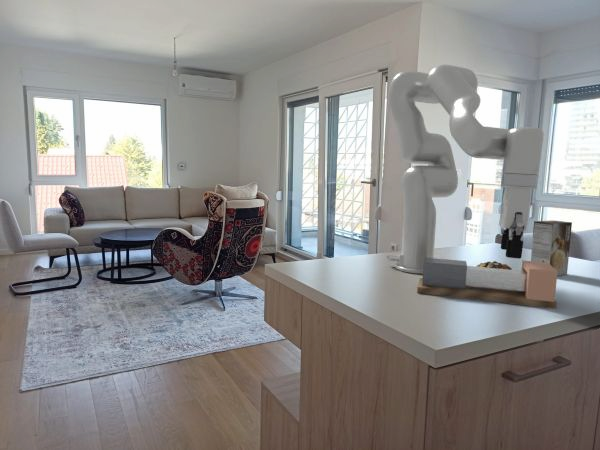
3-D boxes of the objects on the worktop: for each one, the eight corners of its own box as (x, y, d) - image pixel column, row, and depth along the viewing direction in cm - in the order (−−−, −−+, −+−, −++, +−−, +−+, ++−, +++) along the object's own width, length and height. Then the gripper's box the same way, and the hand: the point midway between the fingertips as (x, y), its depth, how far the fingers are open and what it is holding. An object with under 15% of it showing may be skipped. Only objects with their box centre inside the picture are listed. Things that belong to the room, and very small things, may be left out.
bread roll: (521, 276, 124) (521, 260, 123) (498, 286, 119) (498, 268, 118) (487, 270, 134) (487, 254, 133) (465, 278, 128) (464, 262, 127)
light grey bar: (457, 284, 103) (458, 268, 103) (457, 280, 107) (458, 265, 107) (542, 293, 97) (544, 276, 97) (539, 288, 101) (540, 272, 101)
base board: (417, 292, 104) (417, 287, 104) (419, 283, 113) (420, 277, 113) (556, 308, 94) (556, 302, 94) (546, 296, 103) (547, 290, 103)
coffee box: (547, 270, 134) (552, 219, 132) (567, 274, 128) (573, 222, 126) (528, 272, 129) (533, 220, 127) (549, 277, 124) (554, 223, 122)
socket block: (526, 298, 96) (529, 268, 95) (519, 288, 105) (522, 260, 104) (554, 301, 94) (557, 271, 93) (544, 290, 103) (547, 262, 103)
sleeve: (422, 285, 105) (423, 261, 104) (423, 280, 111) (424, 257, 110) (465, 290, 102) (467, 265, 101) (464, 284, 108) (466, 261, 107)
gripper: (497, 179, 108) (490, 245, 110) (506, 182, 91) (496, 259, 94) (530, 181, 105) (521, 248, 108) (545, 184, 89) (534, 263, 92)
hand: (510, 253), depth 101 cm, fingers open, 9 cm apart
